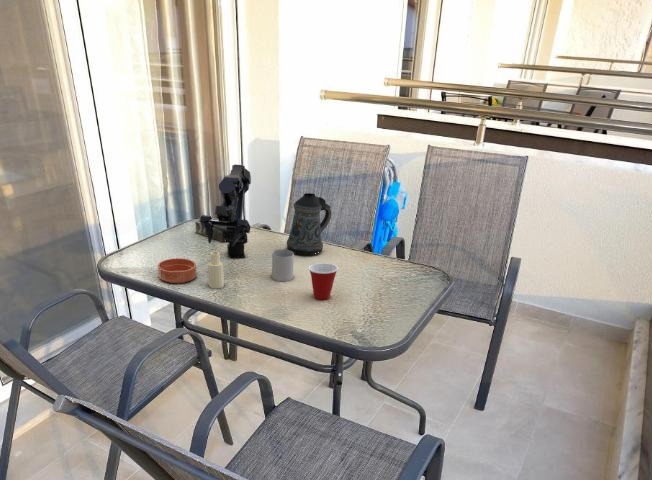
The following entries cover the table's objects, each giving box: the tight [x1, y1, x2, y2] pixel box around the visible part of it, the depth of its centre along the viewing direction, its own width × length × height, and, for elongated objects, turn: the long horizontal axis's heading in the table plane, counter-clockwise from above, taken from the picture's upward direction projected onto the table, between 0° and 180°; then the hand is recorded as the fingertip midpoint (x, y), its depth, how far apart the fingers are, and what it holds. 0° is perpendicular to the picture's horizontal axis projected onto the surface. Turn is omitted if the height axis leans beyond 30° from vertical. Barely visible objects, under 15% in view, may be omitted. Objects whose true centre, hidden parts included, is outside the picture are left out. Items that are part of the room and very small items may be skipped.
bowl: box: [157, 257, 198, 284], centre depth 195 cm, size 14×14×5 cm
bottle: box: [207, 250, 225, 290], centre depth 188 cm, size 6×6×13 cm
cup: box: [271, 249, 295, 282], centre depth 200 cm, size 8×8×10 cm
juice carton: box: [194, 220, 227, 243], centre depth 239 cm, size 20×10×6 cm, turn 54°
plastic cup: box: [308, 262, 339, 301], centre depth 186 cm, size 11×11×12 cm
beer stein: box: [286, 192, 332, 257], centre depth 225 cm, size 16×19×25 cm
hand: (220, 244), depth 192 cm, fingers open, 9 cm apart
